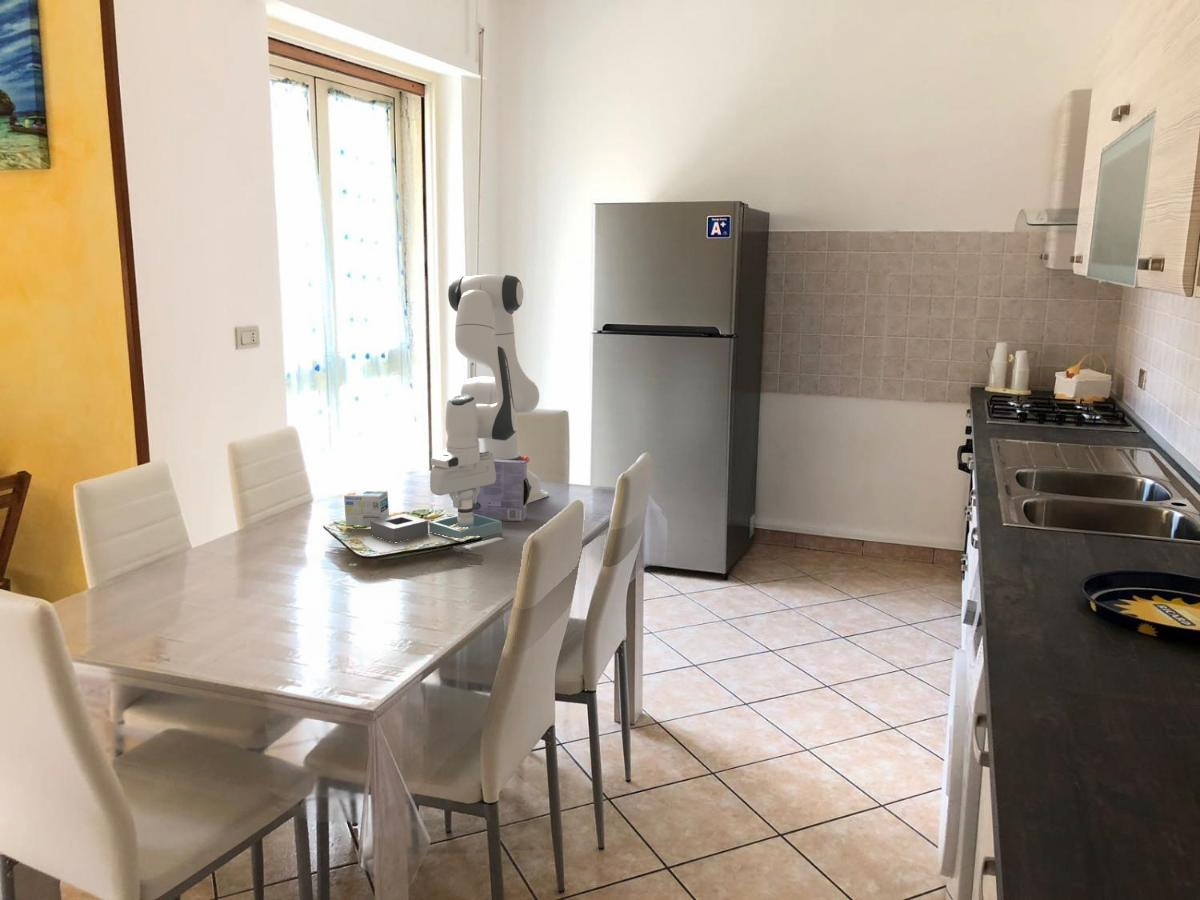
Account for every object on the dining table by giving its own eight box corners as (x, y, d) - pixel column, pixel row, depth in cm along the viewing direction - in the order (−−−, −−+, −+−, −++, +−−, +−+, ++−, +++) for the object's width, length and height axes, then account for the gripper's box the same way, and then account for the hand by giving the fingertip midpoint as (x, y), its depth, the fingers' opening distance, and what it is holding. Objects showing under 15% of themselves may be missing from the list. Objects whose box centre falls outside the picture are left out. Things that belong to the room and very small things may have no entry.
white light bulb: (467, 522, 260) (465, 487, 258) (477, 525, 257) (475, 489, 255) (454, 525, 257) (453, 489, 255) (464, 528, 254) (463, 492, 252)
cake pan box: (530, 517, 276) (529, 458, 273) (527, 522, 271) (526, 462, 268) (466, 516, 278) (464, 457, 274) (462, 520, 273) (460, 461, 270)
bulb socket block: (405, 530, 263) (404, 513, 262) (428, 538, 255) (427, 520, 254) (371, 538, 255) (370, 521, 254) (394, 547, 248) (393, 528, 247)
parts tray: (469, 525, 267) (469, 512, 267) (502, 535, 258) (501, 521, 257) (429, 536, 257) (429, 522, 257) (461, 546, 248) (461, 531, 247)
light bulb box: (390, 526, 267) (388, 490, 265) (382, 533, 260) (380, 495, 258) (354, 526, 268) (351, 489, 266) (345, 532, 261) (343, 495, 259)
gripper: (485, 448, 263) (487, 496, 266) (425, 459, 248) (427, 510, 251) (500, 451, 259) (501, 500, 261) (440, 463, 244) (442, 514, 247)
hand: (464, 505), depth 256 cm, fingers closed on white light bulb, 4 cm apart
